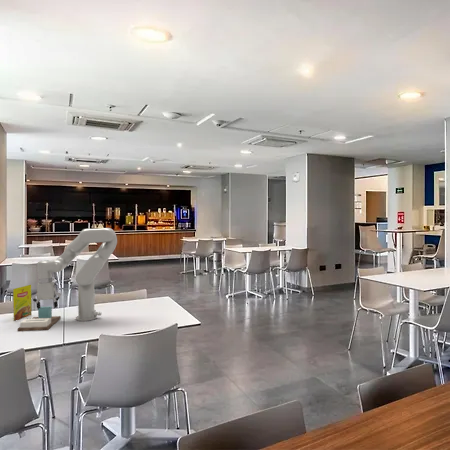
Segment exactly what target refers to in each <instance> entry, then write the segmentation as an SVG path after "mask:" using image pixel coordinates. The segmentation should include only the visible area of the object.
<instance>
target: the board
mask: <svg viewBox="0 0 450 450" xmlns="http://www.w3.org/2000/svg"><path fill="white" fill-rule="evenodd" d="M32 318H38V316H33V317H32ZM61 319H62V316H61V315H59V316H58V315H55V316H54V315H52V317H51V324H49V325H48V326H47V327H31V328H20V326H19V327H18V328H17V332H26V331H28V332H31V331H32V332H34V331H49V330H50V329H51V328H52V327H53V326H54V325H56V324H57V323H58V322H59V321H60V320H61Z"/></svg>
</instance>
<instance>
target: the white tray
mask: <svg viewBox="0 0 450 450" xmlns="http://www.w3.org/2000/svg"><path fill="white" fill-rule="evenodd" d="M49 324H51V318H33V317H32V318H31V317H30V318H27V317H26V318H25V319H23V320H22V321H20V325H19V327H20V328H31V327H47V326H48V325H49Z"/></svg>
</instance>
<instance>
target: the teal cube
mask: <svg viewBox="0 0 450 450" xmlns="http://www.w3.org/2000/svg"><path fill="white" fill-rule="evenodd" d="M52 308H53V306H51V305H50V306H40V308H39V309H38V308H37V311H38V313H37V314H38V315H37V317H38V318H51V317H52V316H53V314H52V313H53V312H52V311H53V309H52Z"/></svg>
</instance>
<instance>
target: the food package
mask: <svg viewBox="0 0 450 450" xmlns="http://www.w3.org/2000/svg"><path fill="white" fill-rule="evenodd" d="M12 291H13V293H12V294H13V295H12V296H13V297H12V299H13V300H12V302H13V322H16V320H17V321H20V320H22V319H24V318H25V319H26V318H27V317H30V316H32V298H31V296H32V284H27V285H24V286H20V287H16V288H13V290H12Z"/></svg>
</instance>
